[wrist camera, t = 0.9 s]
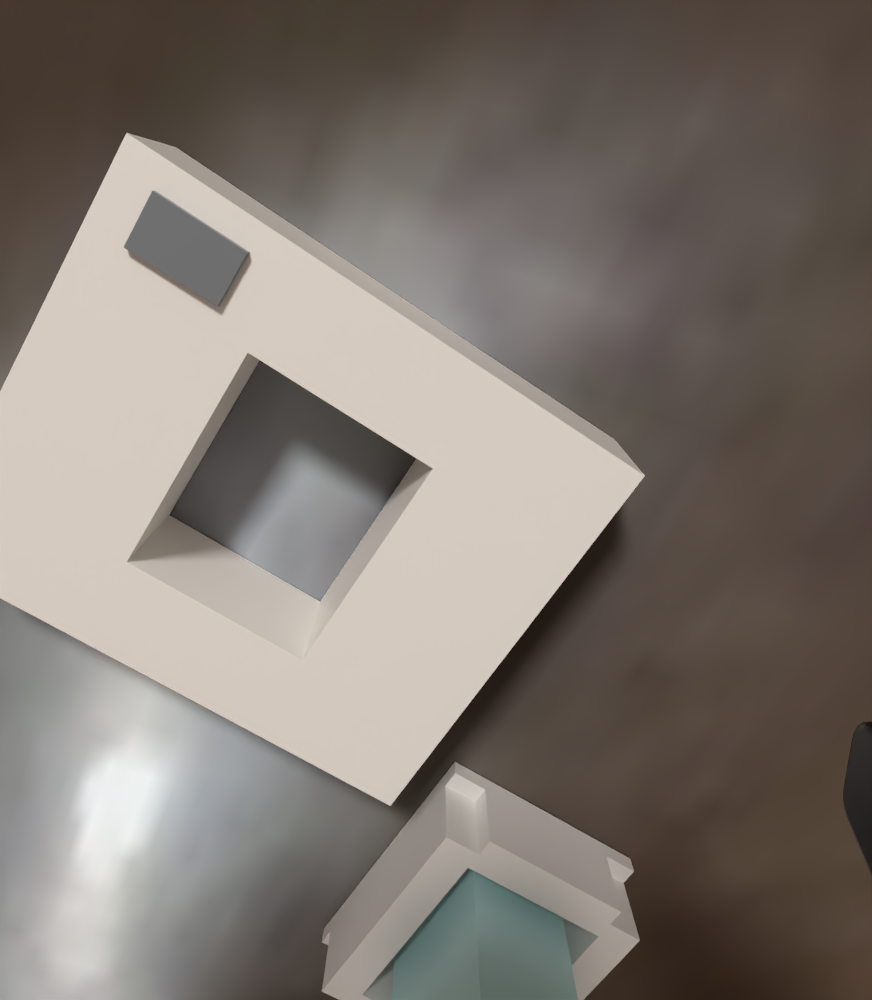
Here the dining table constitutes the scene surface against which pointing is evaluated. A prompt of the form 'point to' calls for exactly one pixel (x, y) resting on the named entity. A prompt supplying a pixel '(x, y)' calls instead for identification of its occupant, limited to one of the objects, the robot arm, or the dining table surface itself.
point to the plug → (485, 949)
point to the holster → (499, 857)
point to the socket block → (194, 424)
